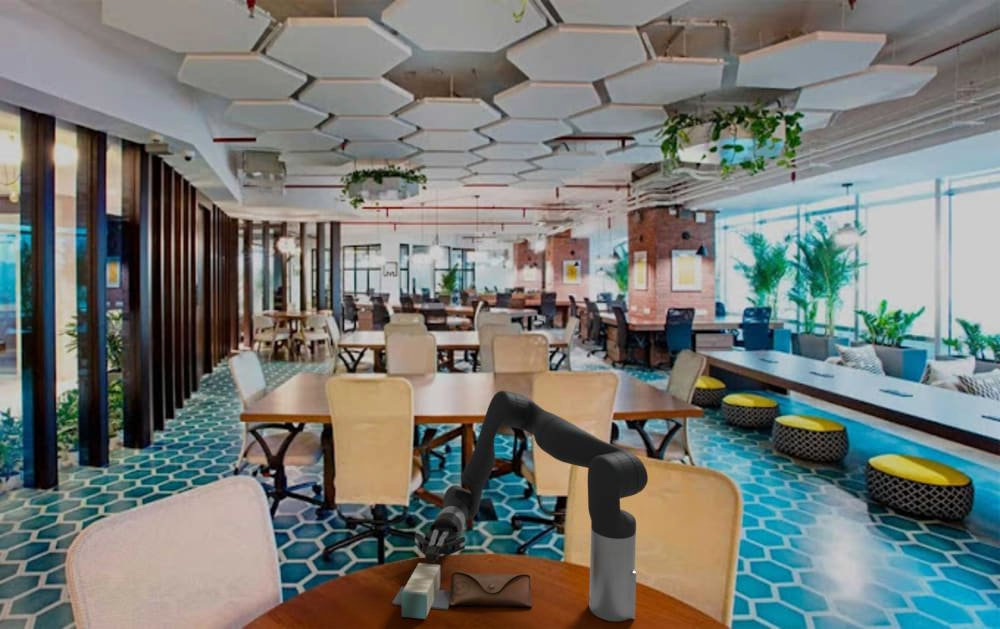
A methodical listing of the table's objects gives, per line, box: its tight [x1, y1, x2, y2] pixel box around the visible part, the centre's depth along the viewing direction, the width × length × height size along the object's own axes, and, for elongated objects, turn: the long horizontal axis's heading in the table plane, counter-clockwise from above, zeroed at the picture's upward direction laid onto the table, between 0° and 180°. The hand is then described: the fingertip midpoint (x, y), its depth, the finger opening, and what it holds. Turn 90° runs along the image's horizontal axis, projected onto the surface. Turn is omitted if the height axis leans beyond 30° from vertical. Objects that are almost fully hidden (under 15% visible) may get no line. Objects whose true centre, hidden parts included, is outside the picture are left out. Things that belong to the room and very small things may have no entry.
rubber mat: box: [391, 586, 451, 611], centre depth 119 cm, size 12×6×1 cm, turn 82°
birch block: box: [401, 562, 441, 620], centre depth 117 cm, size 5×5×12 cm
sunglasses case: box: [449, 571, 533, 608], centre depth 120 cm, size 18×7×7 cm, turn 93°
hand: (430, 558), depth 124 cm, fingers closed
